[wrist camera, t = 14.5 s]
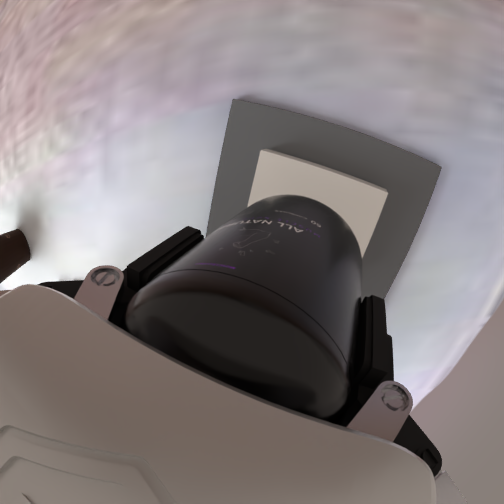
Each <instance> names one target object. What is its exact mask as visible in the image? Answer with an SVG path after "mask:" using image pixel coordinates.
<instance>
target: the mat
mask: <svg viewBox="0 0 504 504" xmlns="http://www.w3.org/2000/svg"><path fill="white" fill-rule="evenodd" d="M263 149H270V150H273V151H277V152H280V153H284V154H287V155H290V156H294V157H297V158H300V159H303V160H307V161H310V162H313V163H316V164H319V165H322V166H325V167H328V168H331V169H334V170H337V171H340V172H343V173H345V174H348V175H351V176H354V177H356V178H359V179H362V180H364V181H367V182H370V183H372V184H375V185H377V186H380V187H382V188H385V189H386V190H387V192H388V195H387V198H386V201H385V203H384V206H383V209H382V211H381V214H380V216H379V219H378V221H377V224H376V227H375V229H374V231H373V234H372V236H371V239H370V241H369V244H368V246H367V248H366V251H365V253H364V255H363V258H362V273H363V274H362V298H361V303H362V301H363V299H364V298H365V296H367V297H370V295H374V296H377V297H380V298H382V299H384V298H385V296H386V294H387V293H388V291H389V289H390V287H391V285H392V283H393V281H394V279H395V277H396V275H397V273H398V271H399V269H400V267H401V265H402V263H403V261H404V259H405V257H406V255H407V253H408V251H409V248H410V246H411V244H412V242H413V240H414V237H415V235H416V233H417V231H418V228H419V226H420V224H421V221H422V219H423V216H424V214H425V211H426V209H427V206H428V204H429V201H430V199H431V196H432V193H433V191H434V188H435V185H436V182H437V180H438V177H439V174H440V171H441V168H442V167H441V166H439V165H437V164H435V163H433V162H430V161H428V160H426V159H424V158H422V157H420V156H417V155H415V154H413V153H411V152H408V151H406V150H404V149H401V148H399V147H396V146H394V145H392V144H389V143H387V142H384V141H381V140H379V139H376V138H374V137H371V136H368V135H365V134H363V133H360V132H357V131H354V130H351V129H348V128H345V127H342V126H339V125H336V124H333V123H330V122H326V121H323V120H320V119H316V118H313V117H309V116H306V115H302V114H298V113H295V112H291V111H287V110H283V109H279V108H274V107H270V106H265V105H261V104H256V103H251V102H246V101H241V100H236V99H233V101H232V105H231V109H230V114H229V118H228V123H227V128H226V132H225V137H224V142H223V147H222V152H221V157H220V162H219V167H218V172H217V177H216V182H215V188H214V193H213V199H212V204H211V210H210V216H209V221H208V227H207V233H206V237H207V236H208V235H210V234H211V233H212V232H214V231H215V230H216V229H218V228H219V227H220V226H222V225H223V224H225V223H226V222H227V221H229V220H230V219H231V218H233V217H234V216H235V215H237V214H238V213H240V212H241V211H243V210H244V209H246V208H247V206H248V202H249V197H250V193H251V189H252V184H253V180H254V176H255V172H256V167H257V163H258V159H259V155H260V151H261V150H263Z"/></svg>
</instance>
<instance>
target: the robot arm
mask: <svg viewBox="0 0 504 504" xmlns="http://www.w3.org/2000/svg"><path fill="white" fill-rule="evenodd" d="M203 239H204V236H203V235H201V231H200V230H198V229H195V228H192V227H189V226H187V227H185V228H184V229H182V230H181V231H179V232H177V233H176V234H174V235H173V236H171V237H170V238H168V239H167V240H165V241H164V242H162V243H160V244H159V245H157V246H156V247H154V248H153V249H151V250H150V251H148V252H147V253H145V254H144V255H142V256H141V257H139V258H138V259H136V260H135V261H134V262H132V263H131V264H129V265H128V266H127V268H126V269H125V270H123V271H121V270H120V269H118V268H117V267H114V266H106V265H105V266H99V267H96V268H94V269H92V270H91V271H90V272H89V273H88V274H87V276H86V278H85V280H81V281H58V282H44V283H40V284H38V285H33V284H27V285H22V286H19V287H17V288H15V289H13V290H4V291H0V504H468V503H467V501H466V500H465V498H464V497H463V495H462V494H461V492H460V491H459V489H458V488H457V486H456V485H455V484H454V482H453V481H452V479H451V478H450V476H449V475H448V473H447V472H446V471H444V472H441V466H442V458H441V455H440V453H439V451H438V450H437V448H436V447H435V446H434V445H433V443H432V442H431V441H430V440H429V439H428V437H427V436H426V435H425V434H424V432H423V431H422V430H421V429H420V427H419V426H418V425H417V424H416V422H415V421H414V420H413V419H412V418H411V416H410V415H409V413H410V411H411V409H412V406H413V399H412V396H411V394H410V392H409V391H408V389H407V388H405V387H404V386H403V385H402V384H400V383H398V382H395V381H394V371H393V348H392V337H391V336H390V335H388V334H387V327H386V313H385V301H384V299H382V298H380V297H377V296H374V295H370V297H367V296H365V298H364V299H363V301H362V303H361V314H360V327H359V338H358V348H357V357H356V365H355V373H354V380H353V387H352V394H351V399H350V403H349V407H348V411H347V414H346V416H345V419H344V421H343V422H342V424H341V426H340V425H336V424H333V423H330V422H327V421H324V420H321V419H318V418H315V417H312V416H309V415H306V414H303V413H300V412H297V411H294V410H291V409H288V408H286V407H283V406H280V405H277V404H275V403H272V402H270V401H267V400H264V399H262V398H259V397H257V396H254V395H252V394H250V393H247V392H245V391H242V390H240V389H238V388H235V387H233V386H231V385H229V384H226V383H224V382H222V381H220V380H217V379H215V378H213V377H211V376H209V375H207V374H205V373H202V372H200V371H198V370H196V369H194V368H192V367H190V366H188V365H186V364H184V363H182V362H180V361H178V360H176V359H174V358H173V357H171V356H169V355H167V354H165V353H163V352H161V351H159V350H158V349H156V348H154V347H152V346H150V345H149V344H147V343H145V342H143V341H141V340H140V339H138V338H136V337H135V336H133V335H131V334H129V333H128V332H126V331H124V330H123V329H121V328H119V327H118V326H119V322H120V319H121V316H122V313H123V311H124V309H125V307H126V305H127V304H128V302H129V301H130V299H131V298H132V297H133V296H134V295H135V294H136V293H137V292H138V291H139V290H140V289H141V288H142V287H143V286H144V285H145V284H146V283H147V282H149V281H150V280H151V279H152V278H154V277H155V276H156V275H157V274H159V273H160V272H161V271H162V270H164V269H165V268H166V267H168V266H169V265H170V264H171V263H173V262H174V261H175V260H177V259H178V258H179V257H181V256H182V255H183V254H185V253H186V252H187V251H188V250H190V249H191V248H192V247H194V246H195V245H196V244H198V243H199V242H200V241H202V240H203Z"/></svg>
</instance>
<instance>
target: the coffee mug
mask: <svg viewBox="0 0 504 504" xmlns="http://www.w3.org/2000/svg"><path fill="white" fill-rule="evenodd" d="M29 260H30V249H29V246H28V243H27V240H26V238H25V236H24V234H23V233H22V231H21V230H19V229H16V230H13V231H10V232H7V233H4V234H1V235H0V283H1V282H3V281H4V280H5V279H6V278H7V277H9V276H10V275H11V274H12V273H13V272H15V271H16V270H17V269H18V268H20V267H21V266H22V265H24V264H25V263H26V262H27V261H29Z"/></svg>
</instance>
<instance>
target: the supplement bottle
mask: <svg viewBox="0 0 504 504" xmlns="http://www.w3.org/2000/svg"><path fill="white" fill-rule="evenodd" d="M362 274H363V273H362V256H361V251H360V247H359V244H358V241H357V239H356V236H355V234H354V233H353V231H352V229H351V228H350V226H349V225H348V224H347V222H346V221H345V220H344V219H343V218H342V217H341V216H340V215H339V214H338V213H337V212H335V211H334V210H333V209H331V208H330V207H328V206H327V205H325V204H323V203H321V202H319V201H317V200H314V199H312V198H309V197H305V196H300V195H290V194H286V195H276V196H271V197H267V198H264V199H262V200H259V201H257V202H255V203H253V204H252V205H250V206H249V207H247V208H246V209H244V210H243V211H241V212H240V213H238V214H237V215H235V216H234V217H233V218H231V219H230V220H229V221H227V222H226V223H225V224H223V225H222V226H220V227H219V228H218V229H216V230H215V231H214V232H212V233H211V234H210V235H208V236H207V237H206V238H204V239H203V240H202V241H200V242H199V243H198V244H196V245H195V246H194V247H192V248H191V249H190V250H188V251H187V252H186V253H185V254H183V255H182V256H181V257H179V258H178V259H177V260H175V261H174V262H173V263H171V264H170V265H169V266H168V267H166V268H165V269H164V270H162V271H161V272H160V273H159V274H157V275H156V276H155V277H154V278H152V279H151V280H150V281H149V282H147V283H146V284H145V285H144V286H143V287H142V288H141V289H140V290H139V291H138V292H137V293H136V294H135V295H134V296H133V297H132V298H131V299H130V301H129V302H128V304H127V305H126V307H125V309H124V311H123V313H122V316H121V319H120V322H119V326H118V327H119V328H121V329H123V330H124V331H126V332H128V333H129V334H131V335H133V336H135V337H136V338H138V339H140V340H141V341H143V342H145V343H147V344H149V345H150V346H152V347H154V348H156V349H158V350H159V351H161V352H163V353H165V354H167V355H169V356H171V357H173V358H174V359H176V360H178V361H180V362H182V363H184V364H186V365H188V366H190V367H192V368H194V369H196V370H198V371H200V372H202V373H205V374H207V375H209V376H211V377H213V378H215V379H217V380H220V381H222V382H224V383H226V384H229V385H231V386H233V387H235V388H238V389H240V390H242V391H245V392H247V393H250V394H252V395H254V396H257V397H259V398H262V399H264V400H267V401H270V402H272V403H275V404H277V405H280V406H283V407H286V408H288V409H291V410H294V411H297V412H300V413H303V414H306V415H309V416H312V417H315V418H318V419H321V420H324V421H327V422H330V423H333V424H336V425H340V426H341V424H342V422H343V421H344V419H345V416H346V414H347V411H348V407H349V403H350V399H351V394H352V387H353V380H354V373H355V365H356V357H357V348H358V338H359V327H360V314H361V298H362Z"/></svg>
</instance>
